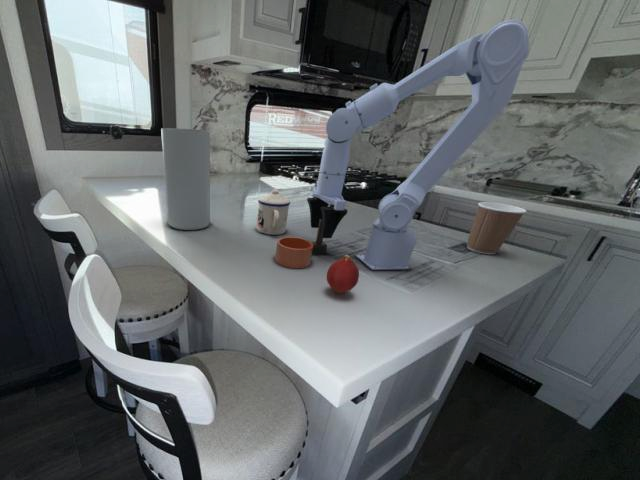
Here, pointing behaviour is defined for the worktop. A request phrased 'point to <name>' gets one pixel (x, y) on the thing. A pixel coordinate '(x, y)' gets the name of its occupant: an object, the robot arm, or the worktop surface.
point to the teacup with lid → (272, 213)
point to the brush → (319, 241)
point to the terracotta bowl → (293, 252)
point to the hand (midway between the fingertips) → (320, 232)
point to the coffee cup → (492, 226)
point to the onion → (342, 275)
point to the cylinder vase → (187, 177)
